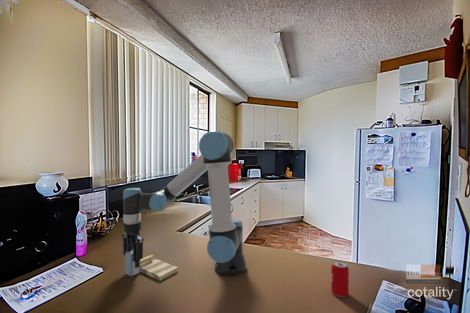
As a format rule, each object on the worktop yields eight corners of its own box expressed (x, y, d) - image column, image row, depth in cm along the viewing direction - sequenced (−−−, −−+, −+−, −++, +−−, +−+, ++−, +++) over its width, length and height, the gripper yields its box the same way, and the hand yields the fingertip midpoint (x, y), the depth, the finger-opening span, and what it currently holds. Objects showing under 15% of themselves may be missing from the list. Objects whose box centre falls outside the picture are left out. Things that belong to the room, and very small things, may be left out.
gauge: (155, 265, 121) (154, 245, 120) (130, 276, 110) (130, 254, 110) (150, 263, 123) (149, 243, 123) (125, 273, 112) (125, 252, 112)
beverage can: (343, 289, 100) (344, 260, 99) (351, 298, 94) (351, 267, 93) (328, 289, 100) (328, 260, 99) (335, 298, 93) (335, 267, 93)
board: (177, 271, 114) (177, 267, 114) (160, 280, 106) (160, 276, 106) (151, 260, 126) (151, 256, 126) (133, 268, 118) (133, 264, 118)
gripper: (151, 223, 111) (151, 274, 111) (129, 217, 120) (129, 264, 121) (136, 227, 105) (136, 281, 105) (114, 220, 114) (115, 270, 115)
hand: (133, 272), depth 113 cm, fingers closed on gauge, 4 cm apart
